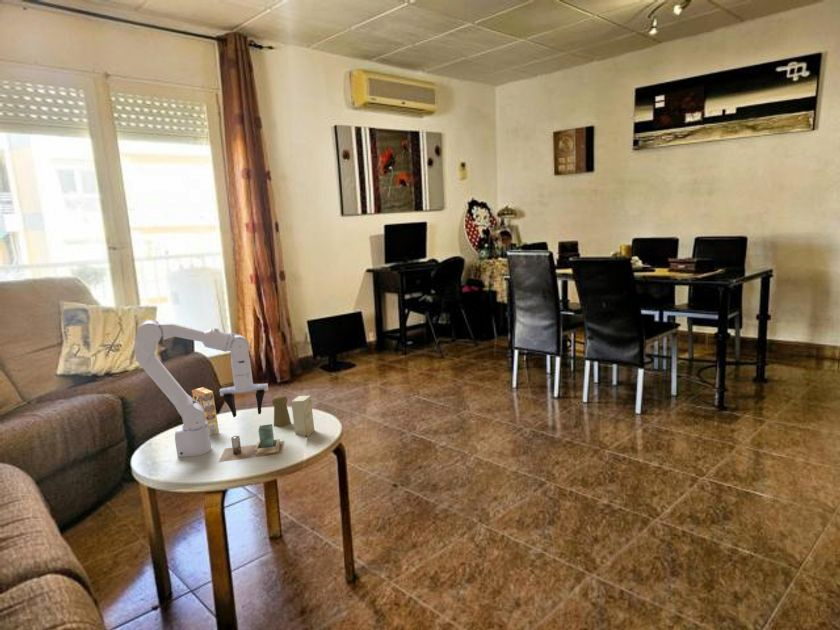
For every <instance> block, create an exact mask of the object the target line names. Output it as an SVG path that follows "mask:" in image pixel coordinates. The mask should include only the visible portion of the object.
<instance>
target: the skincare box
mask: <svg viewBox="0 0 840 630" xmlns="http://www.w3.org/2000/svg"><path fill="white" fill-rule="evenodd" d="M290 403H291V409H292V412H291V413H292V419H293V426H294V427H293V428H294V434H295V435H304V436H305V437H307V438H308V437H309V436H310V435H311V434H312V433H314V432H315V423H314V414H313V407H312V406H313V405H312V397H311V395H298V396H296V397H295V398H294V399H292V400H291V401H290Z"/></svg>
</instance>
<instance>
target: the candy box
mask: <svg viewBox="0 0 840 630" xmlns="http://www.w3.org/2000/svg"><path fill="white" fill-rule="evenodd" d="M191 393H192V394H191V395H192V399H193V400H194V401H196V402H199V403H200V404H202V406H203V408H204V414H205V418H206V419H205V421H207V422H208V429H209V436H211V435H216V434H220V430H219V429H220V428H219V423H218V417H217V416H218V415H217V409H216V403H215V395H214V391H213V390H210V389H208V388H206V387H199V388H194V389H192V390H191Z"/></svg>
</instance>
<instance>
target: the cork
mask: <svg viewBox="0 0 840 630" xmlns="http://www.w3.org/2000/svg"><path fill="white" fill-rule="evenodd" d="M271 403H272V404H271V405H272V406H273V427H274V428H275V427H277V428H278V427H279V428H280V427H286V426H290V425H292V422H291V418H290V413H289V410H288V405H287V404H288V397H287V395H285V394H277V395H274V396H273V397H272V398H271Z"/></svg>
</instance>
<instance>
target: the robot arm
mask: <svg viewBox="0 0 840 630" xmlns="http://www.w3.org/2000/svg"><path fill="white" fill-rule="evenodd" d="M162 337H163V338H162ZM174 337H175V338H181V339H184V340H185V339H186V340H190V341H195V342H196V341H197V342H200V343H202V344H203V346H204V348H208V349H212V350H216V351H222V352H226V353H227V352H230V358H231V359H230V364H231V372H232V379H233V381H232V382H233V386H228V387H223V388H220V389H219V397H223V401H224V402H225V403H226V405H227V406H228V408H229V409H230V411H231V413H232V418H236V417H237V414H238V413H237V408H236V403H235V401H236V400H235V395H237V394H239V395H240V394H245V393H255V392H256V393H255V398H256V403H257V404H256V405H257V414H258V415H261V413H262V404H263V401H264V400H263V399H264V396H265V393H266V392H268V391H269V385H268V384H269V383H267V382H266V383H254V381H253V373H252V363H251V359H250V352H249V351H250V347H251V345H250V343H249V341H248V340H247V338H245V337H244V335H241V334H239V333H235V332H230V333H229V332H226V331H220V329H219V328H217V327H214V329H213V328H209V329H208V330H205V331H203V330H199V329H196V328H193V327H189V326H185V325H181V324H177V323H173V322H169V321H165V320H164V321H163V320H159V321H158V320H154V319H146V320H144V321H142V322H141V323H140V324H139V326H138V329H137V332H136V334H135V337H134V348H135V349H134V350H135V360H136V362H137V363H138V365H140V367H141V368H142V370H144V371H145V372H146V374H147V375H148V376H149V377H150V379H152V381H153V382H154V383H155V384H156V385H157V387H158V388H159V390H161V392H162V393H163V394H165V396H166V398H168V399H169V401H170V402H171V403H172V405H174V407H175V408H176V411H177V412H178V414H179V415H180V417H181V419H182V423H183V424H182V427H179V428H177V429H175V432H174V443H175V448H176V454H177V455H176V456H177V458H182V457H193V456H194V457H195V456H201V455H203V454H206V453H209V452H210V451H211V450H212V444H211V438H210V437H211V435H209V429H208V422H207V421H205V419H206V418H205V414H204V408H203V406H202V404H200V403H199V402H196V401H194V400H193V396H190V395H189V394H188V393H187V392H186V391H185V390H184V389H183V387H182V386H181V384H180V383H179V381H177V380H176V378H175V377H174V376H173V375H172V374H171V372H170V371H169V370H168V369H167V368H166V367H165V365H164V364H163V363H162V362H161V361H160V359H159V358H158V357H157V355H155V352H156V348H157V345H158V343H159V342H160V341H161V338H162V339H163V340H164V341H165V340H168V339H171V338H174Z"/></svg>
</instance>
